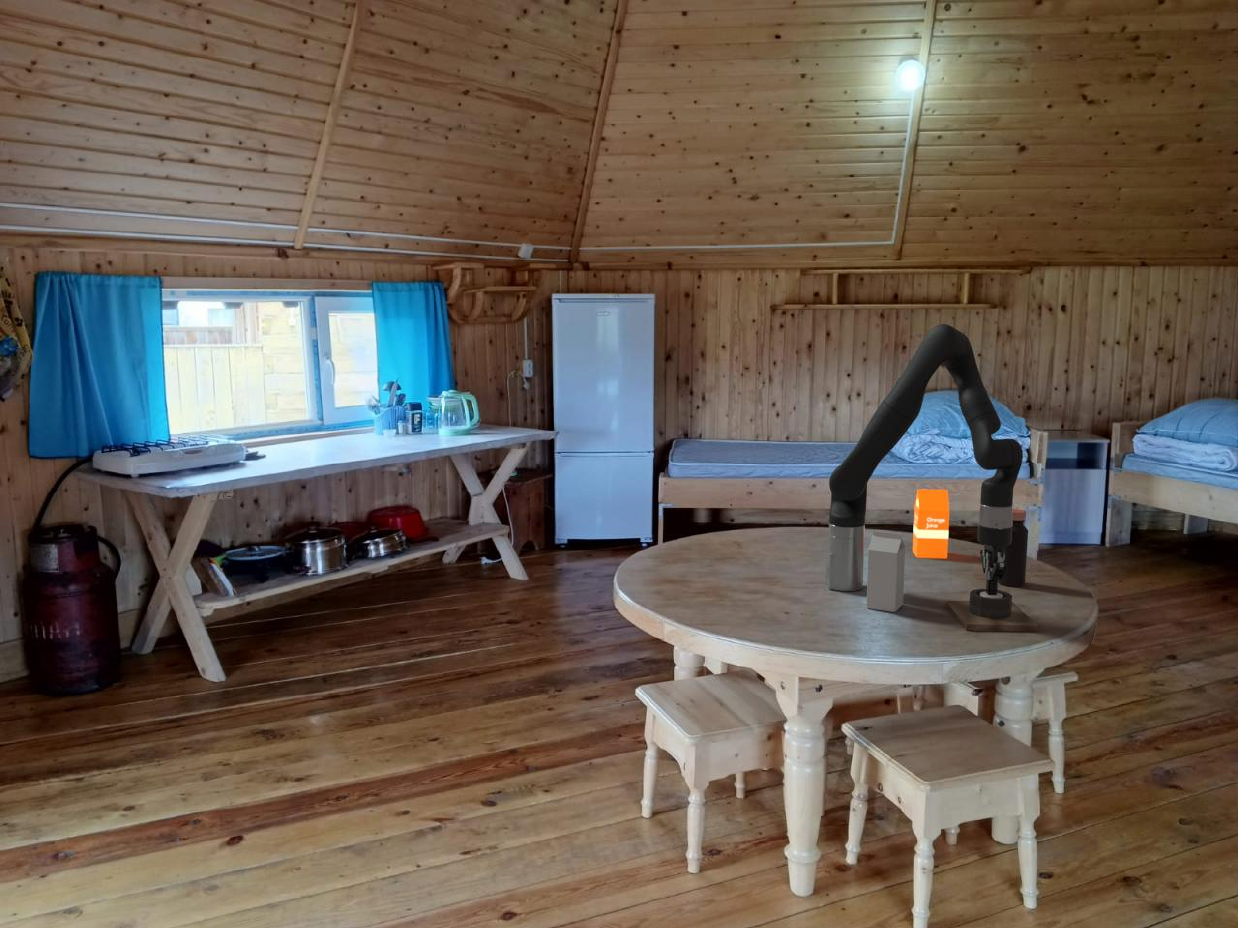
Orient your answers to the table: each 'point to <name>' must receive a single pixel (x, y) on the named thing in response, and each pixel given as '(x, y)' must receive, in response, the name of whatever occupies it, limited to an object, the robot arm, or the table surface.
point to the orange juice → (931, 524)
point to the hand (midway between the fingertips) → (991, 594)
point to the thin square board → (990, 613)
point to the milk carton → (885, 571)
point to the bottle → (1016, 552)
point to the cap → (990, 595)
